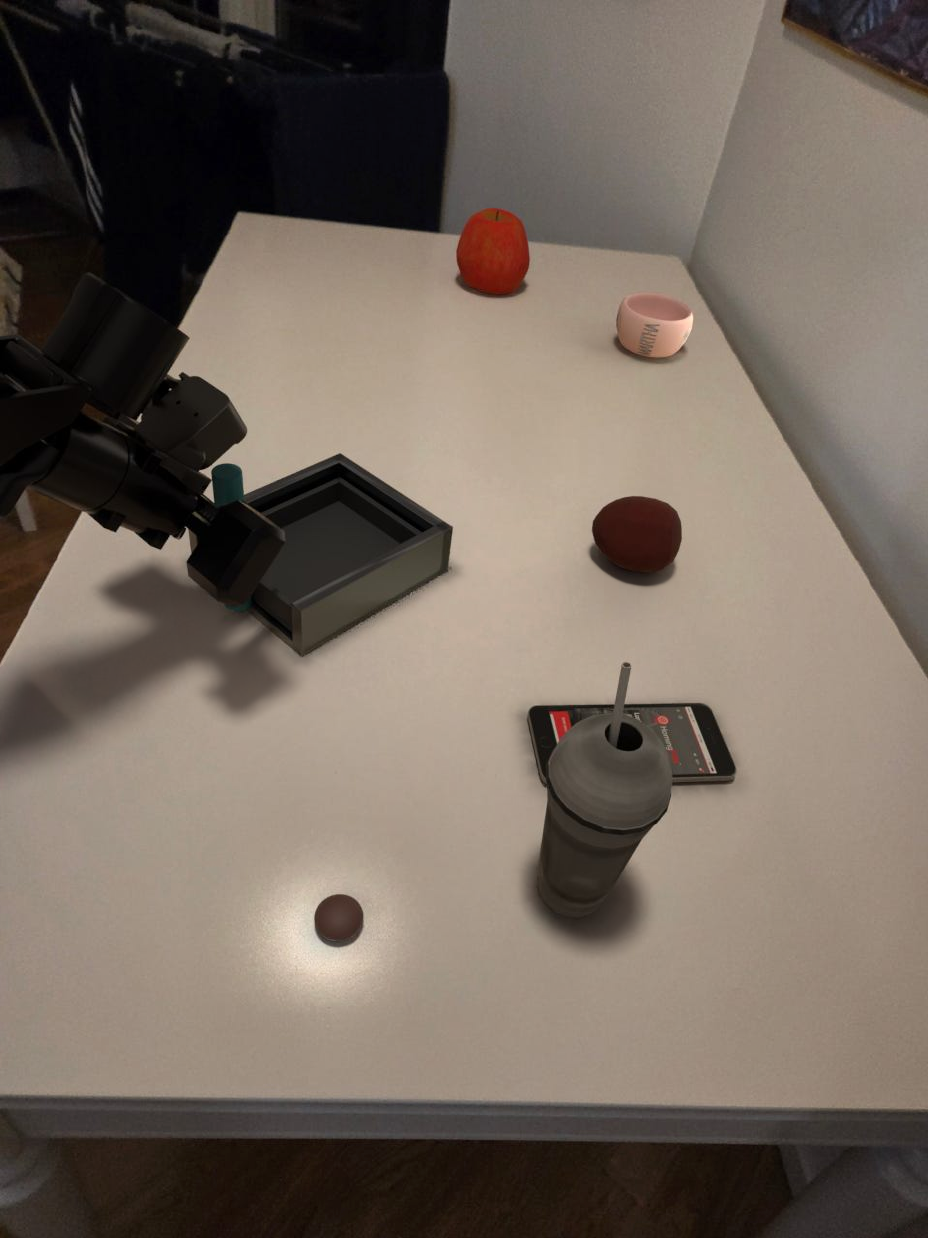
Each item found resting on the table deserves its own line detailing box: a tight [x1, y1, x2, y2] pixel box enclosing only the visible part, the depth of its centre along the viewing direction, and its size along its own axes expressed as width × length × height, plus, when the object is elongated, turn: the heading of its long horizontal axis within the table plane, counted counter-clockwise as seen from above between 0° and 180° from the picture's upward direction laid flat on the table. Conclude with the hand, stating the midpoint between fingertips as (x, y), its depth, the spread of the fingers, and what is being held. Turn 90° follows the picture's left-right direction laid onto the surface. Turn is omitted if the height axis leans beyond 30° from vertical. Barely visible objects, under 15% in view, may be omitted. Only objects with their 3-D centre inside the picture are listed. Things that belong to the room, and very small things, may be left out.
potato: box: [591, 495, 683, 573], centre depth 83 cm, size 7×8×7 cm
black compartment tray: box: [210, 462, 422, 632], centre depth 73 cm, size 17×12×13 cm
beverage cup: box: [536, 661, 673, 919], centre depth 52 cm, size 7×7×20 cm
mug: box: [615, 291, 694, 359], centre depth 119 cm, size 12×10×6 cm
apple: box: [455, 207, 531, 295], centre depth 127 cm, size 11×11×11 cm
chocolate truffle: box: [313, 893, 364, 942], centre depth 54 cm, size 3×3×2 cm
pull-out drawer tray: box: [187, 452, 454, 657], centre depth 78 cm, size 17×15×5 cm
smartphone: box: [526, 702, 738, 785], centre depth 67 cm, size 7×1×15 cm
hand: (247, 538), depth 70 cm, fingers open, 6 cm apart
